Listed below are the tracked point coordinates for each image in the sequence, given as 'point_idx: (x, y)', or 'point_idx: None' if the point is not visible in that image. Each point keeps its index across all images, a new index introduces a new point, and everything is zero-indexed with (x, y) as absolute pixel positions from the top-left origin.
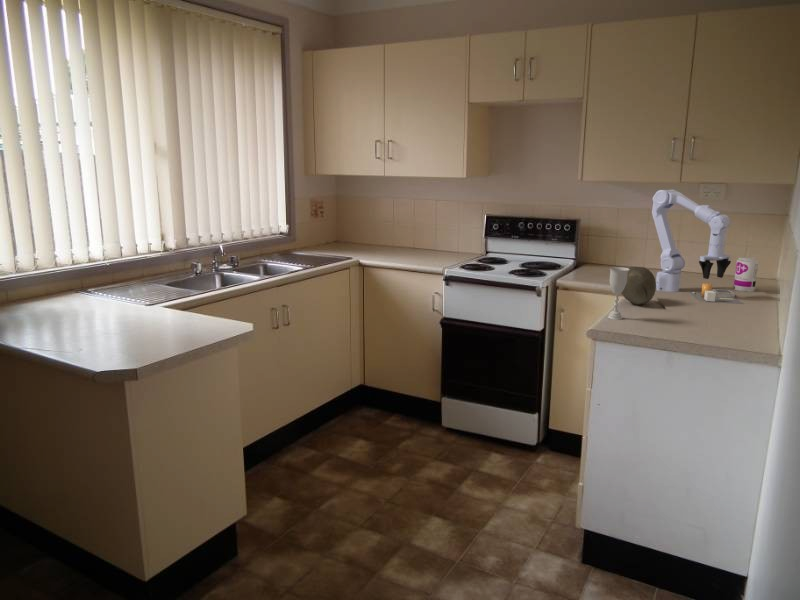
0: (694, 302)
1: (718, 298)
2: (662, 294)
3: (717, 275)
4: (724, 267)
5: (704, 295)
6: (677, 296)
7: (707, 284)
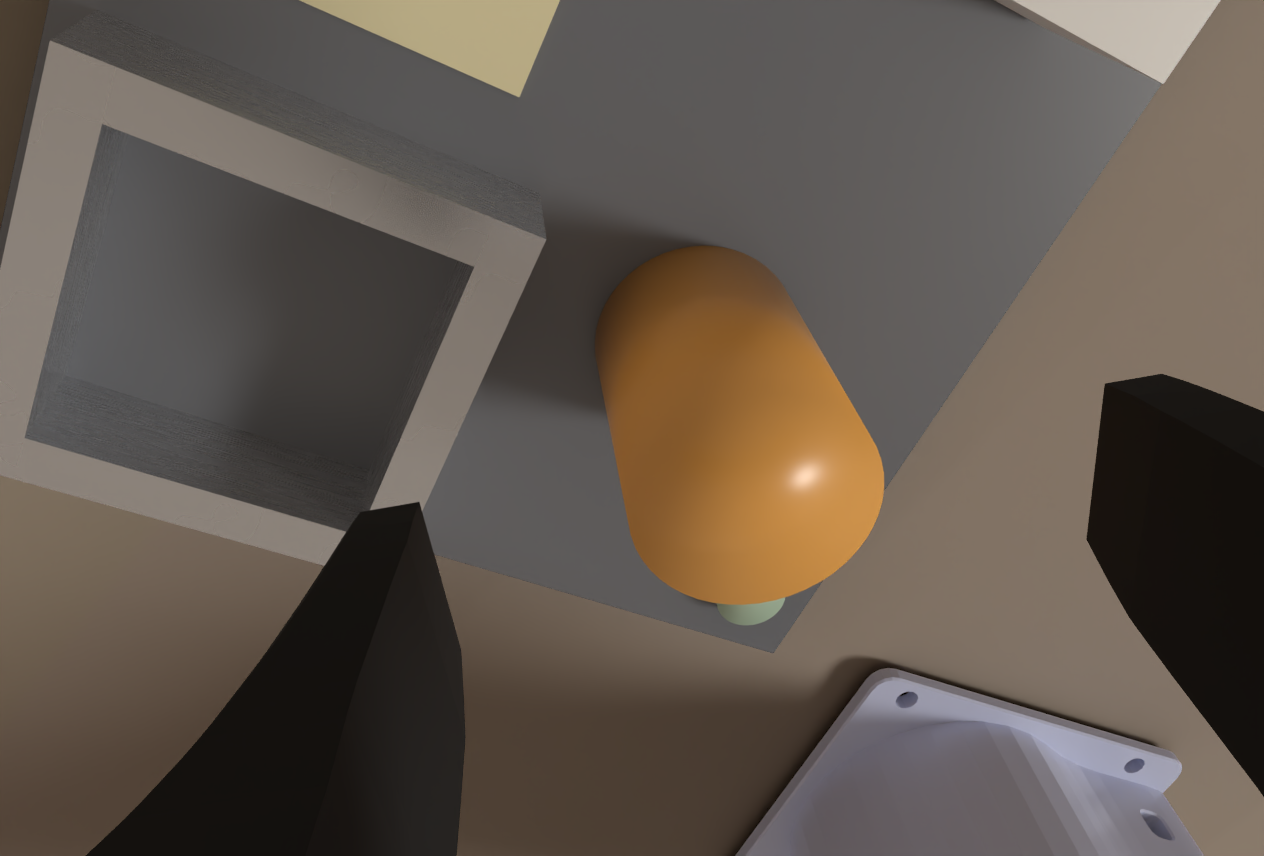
0: (1256, 7)
1: (581, 54)
2: (1175, 689)
3: (457, 691)
4: (322, 825)
5: (1087, 47)
6: (1073, 544)
7: (769, 485)
